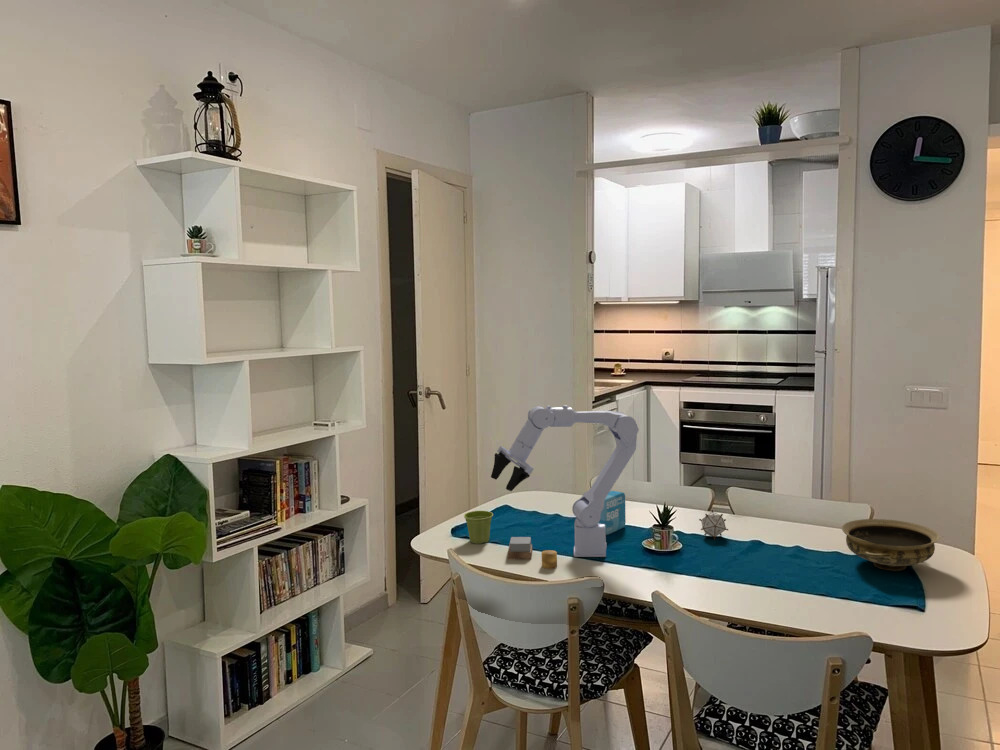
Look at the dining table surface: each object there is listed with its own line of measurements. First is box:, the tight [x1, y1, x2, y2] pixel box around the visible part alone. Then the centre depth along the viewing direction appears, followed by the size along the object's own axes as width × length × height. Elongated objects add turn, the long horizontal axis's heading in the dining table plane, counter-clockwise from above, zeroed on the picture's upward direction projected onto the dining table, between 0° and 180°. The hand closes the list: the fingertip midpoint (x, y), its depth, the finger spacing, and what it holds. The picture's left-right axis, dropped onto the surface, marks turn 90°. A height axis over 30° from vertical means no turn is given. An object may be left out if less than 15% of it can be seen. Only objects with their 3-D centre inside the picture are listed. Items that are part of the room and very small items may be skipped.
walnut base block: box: [507, 544, 533, 560], centre depth 228 cm, size 7×7×2 cm
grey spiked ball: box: [698, 509, 729, 540], centre depth 238 cm, size 9×8×10 cm
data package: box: [599, 490, 626, 536], centre depth 248 cm, size 12×4×12 cm, turn 138°
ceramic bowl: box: [841, 518, 940, 572], centre depth 209 cm, size 30×24×10 cm
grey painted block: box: [509, 536, 532, 552], centre depth 227 cm, size 6×6×2 cm
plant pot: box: [463, 510, 494, 545], centre depth 241 cm, size 9×9×9 cm
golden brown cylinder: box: [541, 549, 558, 570], centre depth 218 cm, size 4×4×4 cm
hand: (500, 484), depth 221 cm, fingers open, 7 cm apart
